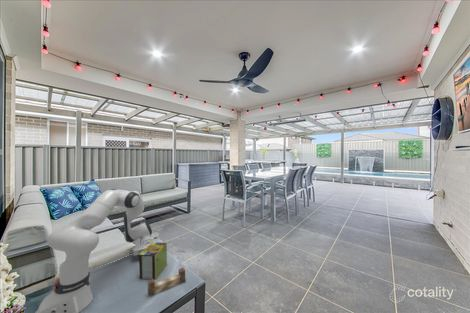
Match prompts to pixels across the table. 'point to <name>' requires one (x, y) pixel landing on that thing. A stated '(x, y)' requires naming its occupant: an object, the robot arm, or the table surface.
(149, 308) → the table surface
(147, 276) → the protein box
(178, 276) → the beam
